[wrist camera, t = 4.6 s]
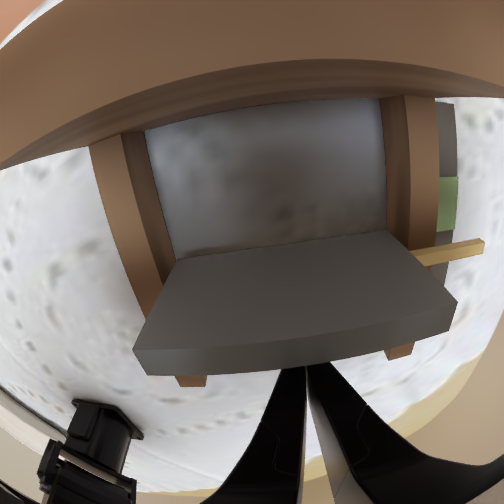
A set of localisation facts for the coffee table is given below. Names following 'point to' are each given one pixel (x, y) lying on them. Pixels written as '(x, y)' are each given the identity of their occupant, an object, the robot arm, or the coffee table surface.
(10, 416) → the square plate
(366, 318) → the pad
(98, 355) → the coffee table surface
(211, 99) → the brown wooden frame
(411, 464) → the robot arm
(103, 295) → the coffee table surface
